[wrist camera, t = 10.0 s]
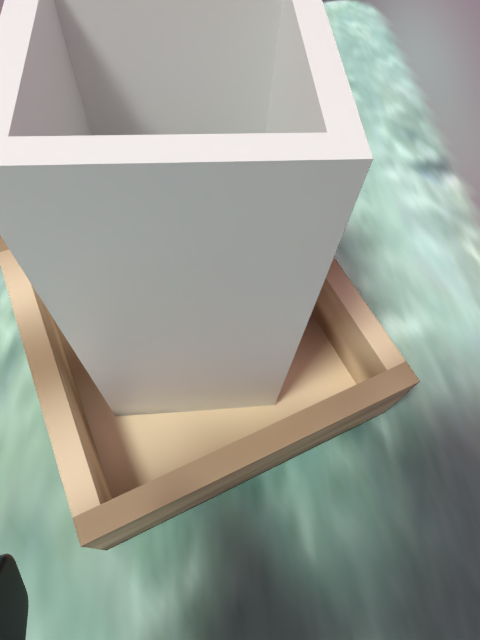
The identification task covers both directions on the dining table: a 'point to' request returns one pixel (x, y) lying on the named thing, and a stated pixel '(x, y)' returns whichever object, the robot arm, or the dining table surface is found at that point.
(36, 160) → the white square vase
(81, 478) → the tray
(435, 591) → the dining table surface
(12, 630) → the robot arm
